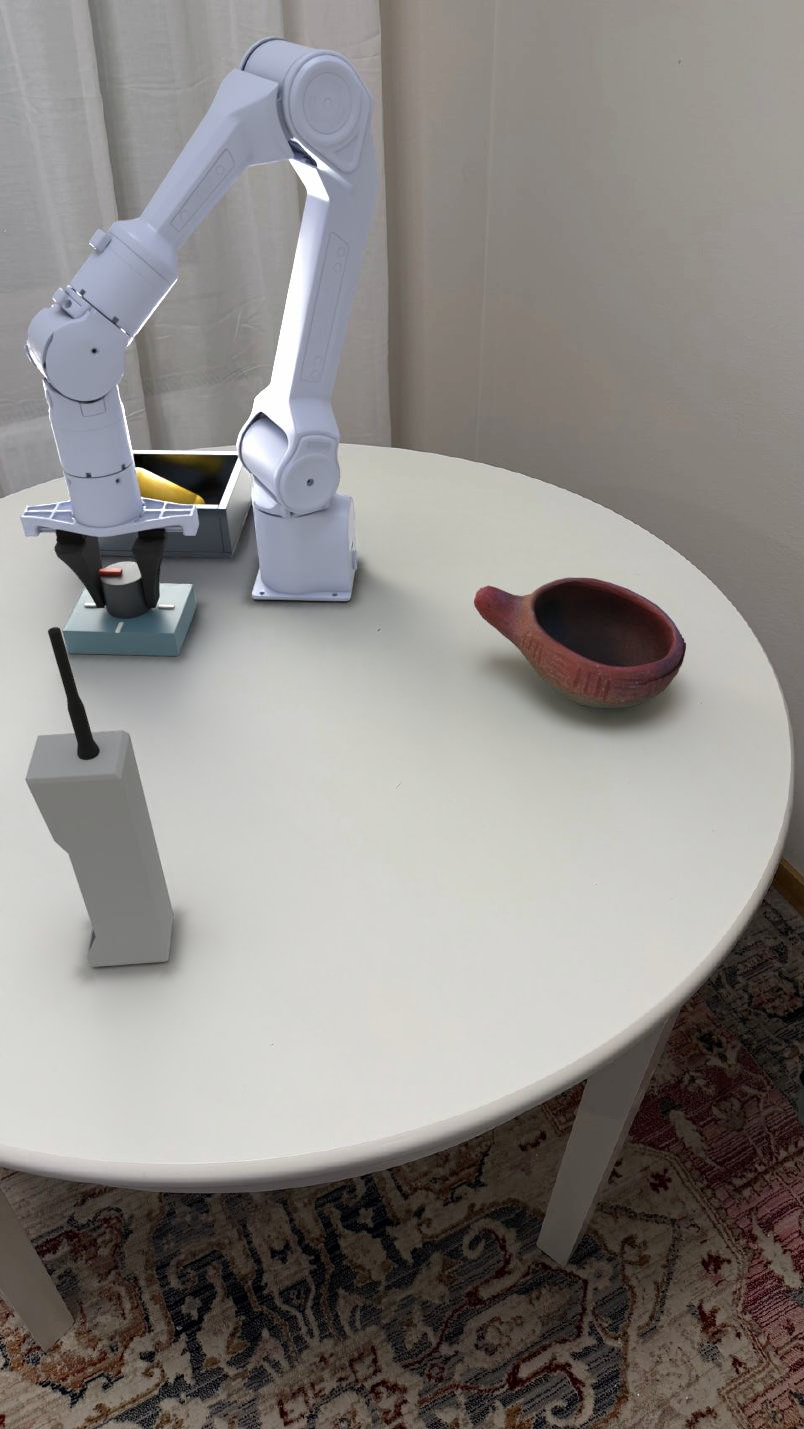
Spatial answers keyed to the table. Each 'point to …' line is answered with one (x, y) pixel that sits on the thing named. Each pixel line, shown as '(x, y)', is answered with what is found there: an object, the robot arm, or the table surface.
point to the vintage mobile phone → (103, 831)
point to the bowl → (589, 639)
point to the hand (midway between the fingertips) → (128, 601)
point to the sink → (218, 519)
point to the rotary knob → (123, 590)
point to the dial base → (132, 626)
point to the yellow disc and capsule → (164, 489)
